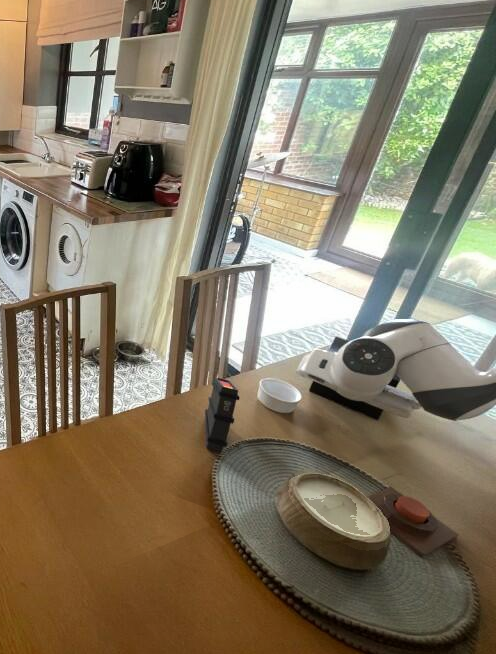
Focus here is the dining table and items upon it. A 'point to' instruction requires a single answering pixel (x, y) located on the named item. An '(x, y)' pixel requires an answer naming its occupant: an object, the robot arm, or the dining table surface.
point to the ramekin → (278, 395)
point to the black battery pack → (220, 414)
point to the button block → (412, 525)
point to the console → (336, 397)
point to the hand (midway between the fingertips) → (348, 393)
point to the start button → (412, 509)
